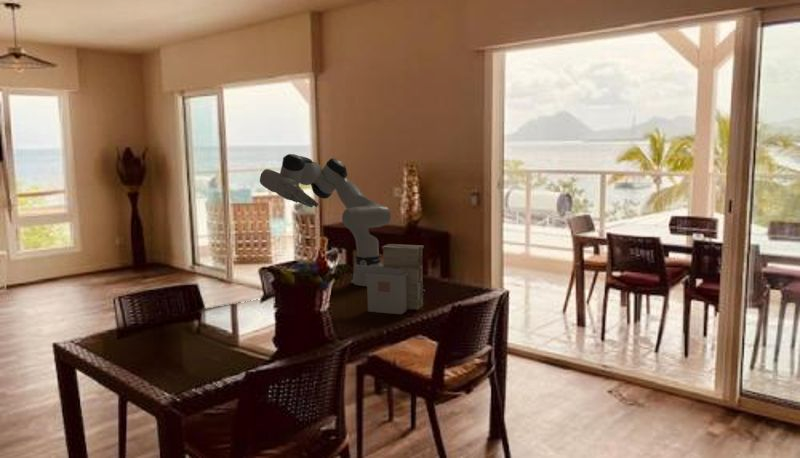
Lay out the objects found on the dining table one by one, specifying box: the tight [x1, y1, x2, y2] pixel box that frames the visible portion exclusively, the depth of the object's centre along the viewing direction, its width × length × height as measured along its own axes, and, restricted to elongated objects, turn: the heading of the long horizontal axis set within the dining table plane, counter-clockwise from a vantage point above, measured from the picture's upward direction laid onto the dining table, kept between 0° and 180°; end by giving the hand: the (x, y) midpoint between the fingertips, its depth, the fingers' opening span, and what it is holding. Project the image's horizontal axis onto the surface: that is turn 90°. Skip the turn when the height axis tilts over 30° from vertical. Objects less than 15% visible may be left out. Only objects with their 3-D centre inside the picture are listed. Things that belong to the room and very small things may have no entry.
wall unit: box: [381, 243, 425, 311], centre depth 256 cm, size 8×16×26 cm, turn 70°
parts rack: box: [365, 273, 408, 315], centre depth 250 cm, size 7×16×16 cm, turn 70°
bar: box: [353, 264, 406, 275], centre depth 250 cm, size 22×3×3 cm, turn 69°
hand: (312, 201), depth 261 cm, fingers open, 8 cm apart
